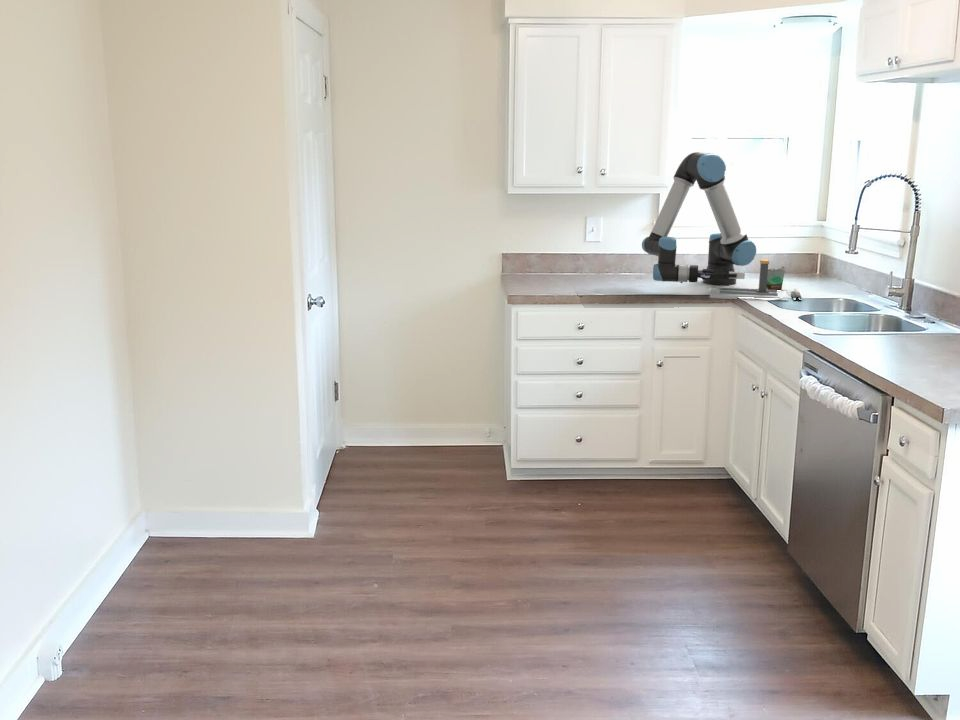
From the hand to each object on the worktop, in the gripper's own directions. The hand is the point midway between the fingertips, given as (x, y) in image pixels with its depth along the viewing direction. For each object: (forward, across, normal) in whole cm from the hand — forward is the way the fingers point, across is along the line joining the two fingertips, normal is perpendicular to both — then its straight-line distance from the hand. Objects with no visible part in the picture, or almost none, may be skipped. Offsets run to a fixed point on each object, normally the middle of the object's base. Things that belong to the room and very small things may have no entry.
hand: (744, 275), depth 381 cm
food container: (+14, -15, -9) cm, 22 cm away
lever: (+8, 0, -7) cm, 11 cm away
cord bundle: (+22, -1, -9) cm, 24 cm away
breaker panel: (+2, 0, -9) cm, 9 cm away
